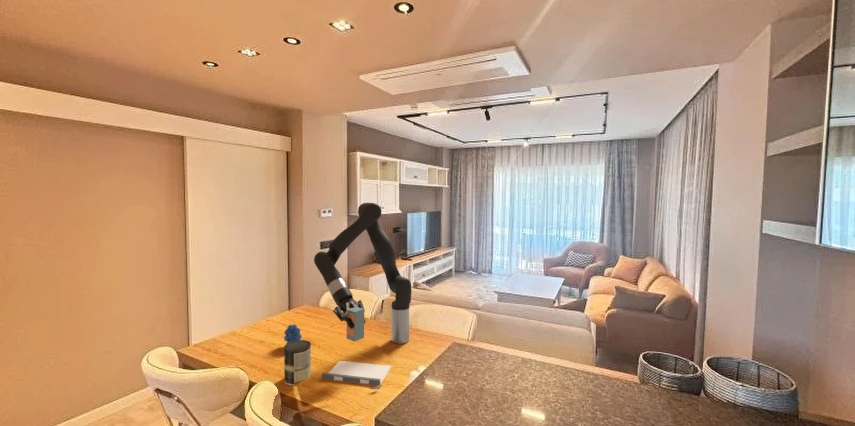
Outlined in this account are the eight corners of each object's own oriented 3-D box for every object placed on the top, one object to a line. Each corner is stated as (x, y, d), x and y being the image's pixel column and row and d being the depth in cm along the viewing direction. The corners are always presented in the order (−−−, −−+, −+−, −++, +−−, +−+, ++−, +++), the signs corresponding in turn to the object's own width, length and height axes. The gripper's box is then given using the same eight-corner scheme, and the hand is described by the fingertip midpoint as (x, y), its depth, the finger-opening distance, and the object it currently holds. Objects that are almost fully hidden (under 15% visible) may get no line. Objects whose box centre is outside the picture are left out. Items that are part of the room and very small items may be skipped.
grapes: (308, 347, 169) (307, 323, 168) (296, 352, 163) (296, 327, 163) (292, 342, 175) (292, 319, 174) (280, 347, 169) (280, 323, 169)
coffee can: (280, 386, 133) (279, 351, 133) (288, 373, 143) (288, 340, 143) (307, 385, 134) (307, 350, 133) (313, 372, 144) (313, 339, 144)
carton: (356, 334, 144) (356, 306, 144) (364, 337, 141) (364, 309, 141) (346, 338, 140) (346, 309, 140) (354, 341, 137) (354, 312, 137)
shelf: (340, 364, 152) (340, 356, 152) (391, 369, 147) (391, 361, 147) (321, 382, 136) (321, 374, 136) (379, 389, 131) (379, 380, 131)
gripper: (329, 289, 139) (348, 325, 132) (357, 283, 150) (375, 316, 143) (322, 300, 142) (340, 335, 135) (349, 293, 154) (367, 325, 147)
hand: (358, 325), depth 139 cm, fingers closed on carton, 5 cm apart
